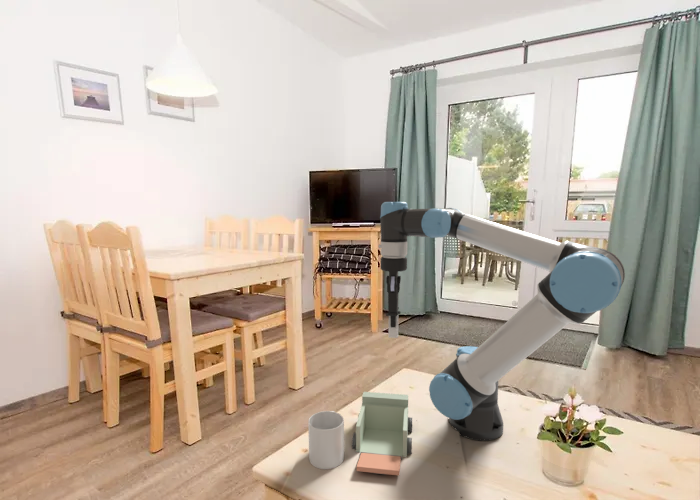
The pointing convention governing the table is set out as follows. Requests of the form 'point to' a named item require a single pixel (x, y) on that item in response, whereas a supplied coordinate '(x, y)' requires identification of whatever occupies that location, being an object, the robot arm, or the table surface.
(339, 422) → the mug
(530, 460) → the table surface
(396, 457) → the panel
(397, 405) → the truck bed
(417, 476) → the table surface
